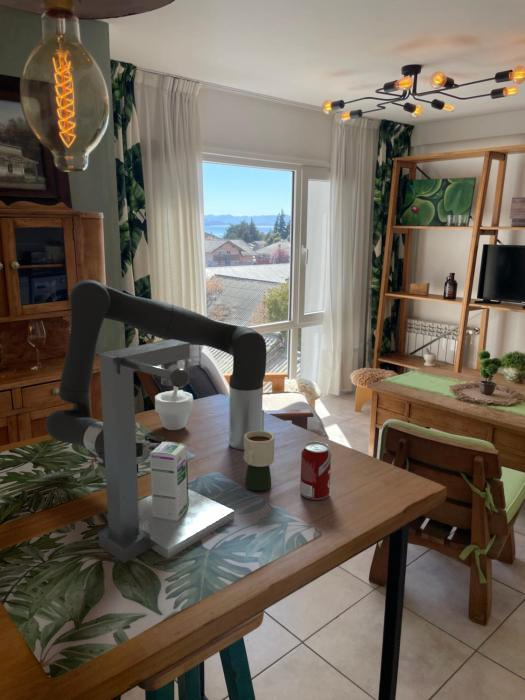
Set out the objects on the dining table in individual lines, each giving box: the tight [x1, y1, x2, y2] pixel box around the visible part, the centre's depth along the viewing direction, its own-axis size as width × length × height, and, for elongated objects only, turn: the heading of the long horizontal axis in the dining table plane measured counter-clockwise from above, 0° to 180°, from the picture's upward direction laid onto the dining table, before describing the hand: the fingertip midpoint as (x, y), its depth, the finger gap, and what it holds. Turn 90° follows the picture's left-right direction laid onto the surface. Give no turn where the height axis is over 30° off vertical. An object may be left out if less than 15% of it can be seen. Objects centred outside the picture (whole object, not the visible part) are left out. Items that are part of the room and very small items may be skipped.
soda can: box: [299, 441, 332, 501], centre depth 119 cm, size 7×7×12 cm
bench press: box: [97, 339, 235, 564], centre depth 99 cm, size 24×27×38 cm
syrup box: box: [149, 441, 189, 521], centre depth 106 cm, size 6×6×14 cm
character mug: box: [243, 430, 275, 491], centre depth 122 cm, size 11×7×13 cm, turn 156°
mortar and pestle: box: [154, 358, 194, 431], centre depth 156 cm, size 13×12×25 cm
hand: (153, 462), depth 109 cm, fingers open, 8 cm apart
